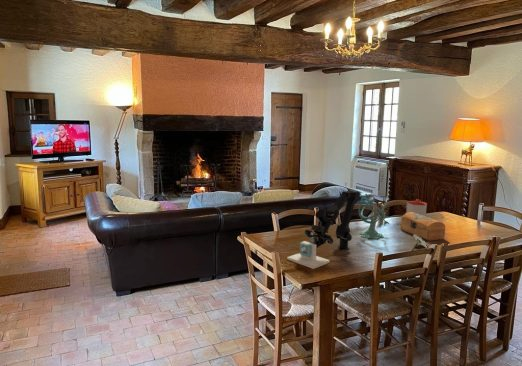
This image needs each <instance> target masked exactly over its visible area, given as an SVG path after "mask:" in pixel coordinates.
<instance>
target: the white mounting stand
mask: <svg viewBox="0 0 522 366" xmlns="http://www.w3.org/2000/svg"><path fill="white" fill-rule="evenodd" d="M302 242H303V243H306V244H309V245H311V257H306V256H303V255H300V252H298V253H295V254H292V255H290V256H286V257H287V261H290V262H293V263H296V264H299V265H302V266H305V267H307V268H310V269H312V270H314V269H317V268H319V267H321V266H324V265H327V264H330V259H327V258H324V257H321V256H318V255H317V256H316V244H313V243H310V241H306V240H303V241H301V242H300V243H302ZM304 252H306V253H307V250H306V251H304Z"/></svg>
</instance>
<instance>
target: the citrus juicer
mask: <svg viewBox="0 0 522 366" xmlns="http://www.w3.org/2000/svg"><path fill="white" fill-rule="evenodd" d="M427 205H428V203H427V202H424V201H420V200H419V199H415V200H410V202H408V201H407V202H406V205H405V208H406V213H408V212H414V213H416V214H420V215H423V216H426V217H427V207H428V206H427Z"/></svg>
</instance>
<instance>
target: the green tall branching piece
mask: <svg viewBox="0 0 522 366" xmlns="http://www.w3.org/2000/svg"><path fill="white" fill-rule="evenodd" d="M359 193H360V197H361V201H360V202H359V205H358V215H359V218H360V219H361V221H362V222H364V223H367V224H369V227H368V229H366V230H365V231H364V232H360V233H358V234H359V235H360V237H361V238H365V239H368V240H380V239H384V238H385V236H384V235H383V234H382V233H378V231H377V230H376V229H375V226H374V224H375V223H377V222H378V221H380V220H383V225H384V227H386V225H390V222H389V221H387V220H385V219H386V218H387V217H386V216H387V214H385V213H384V212H383V211H384V210H385V208H386V205H387V202H385V203H384V205H383V206H382V208H379V207H378V206H377V205H376V204H375V203H374V201H375V198H372V199H369V198H368V193H365V194H364V195H365V196H363V194H361V193H362V192H361V191H359ZM362 204H365V205H364V206H363V207H362ZM361 207H362V209H361ZM366 207H367V208H368V209H369V210H370V211H372V213H374V214H373V215H371V216H365V215H363V214H364V210H365V209H366ZM375 208H376V209H375ZM375 217H379V218H377V219H375V220H374V218H375ZM368 219H369V220H368Z"/></svg>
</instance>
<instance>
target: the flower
mask: <svg viewBox="0 0 522 366" xmlns="http://www.w3.org/2000/svg"><path fill="white" fill-rule="evenodd" d="M412 236H413V238H414V240H415V241H416V242H417V243H416V244H415V245H414V246H413V247H415V248H416V247H417V245H418V244H419V245H421V246H423V247H424V248H427V246H428V244H427V243H426V240H424V239H422V238H420V237H419V236H417V234H412ZM426 245H427V246H426ZM411 251H412V249H411V250H410V252H411ZM412 252H413V251H412Z"/></svg>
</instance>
